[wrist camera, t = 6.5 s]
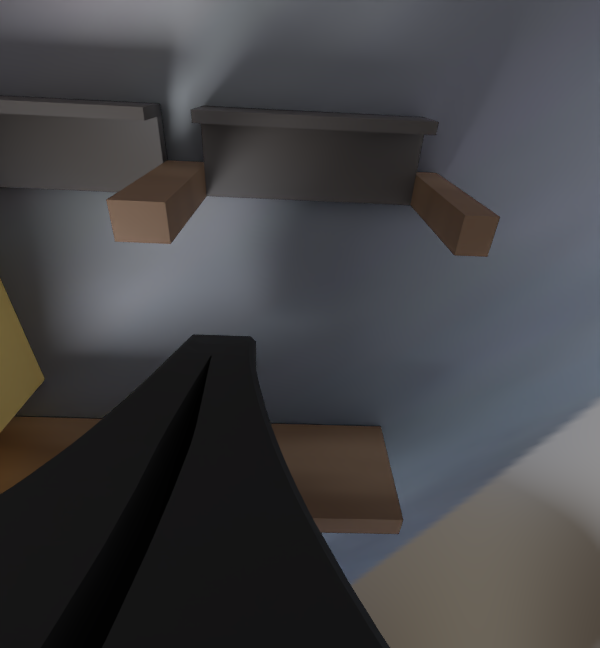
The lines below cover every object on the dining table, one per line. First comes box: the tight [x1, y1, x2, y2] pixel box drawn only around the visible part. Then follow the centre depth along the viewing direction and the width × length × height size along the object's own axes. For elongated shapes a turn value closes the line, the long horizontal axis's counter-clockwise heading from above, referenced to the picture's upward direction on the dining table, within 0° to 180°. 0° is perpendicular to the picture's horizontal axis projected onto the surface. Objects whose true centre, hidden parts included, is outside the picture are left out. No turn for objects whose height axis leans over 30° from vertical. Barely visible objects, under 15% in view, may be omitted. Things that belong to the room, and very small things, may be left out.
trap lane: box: [0, 95, 500, 534], centre depth 8 cm, size 9×15×3 cm, turn 88°
